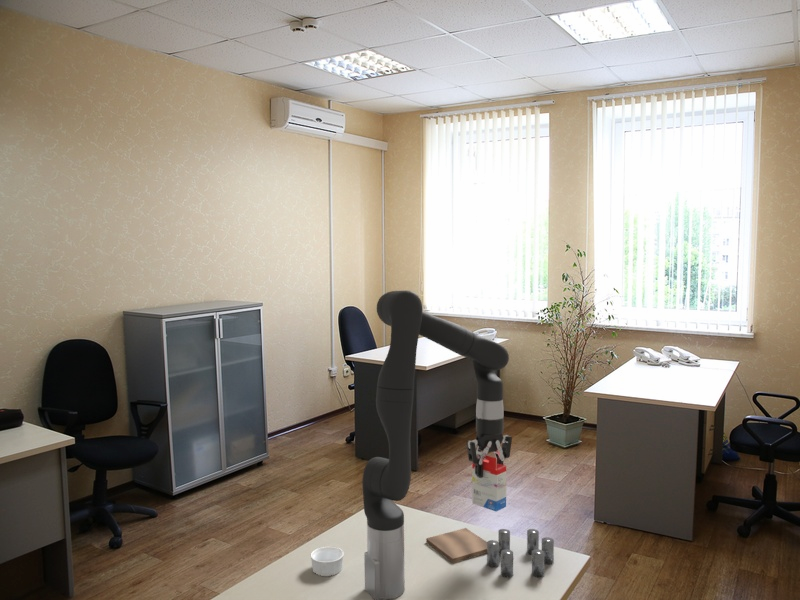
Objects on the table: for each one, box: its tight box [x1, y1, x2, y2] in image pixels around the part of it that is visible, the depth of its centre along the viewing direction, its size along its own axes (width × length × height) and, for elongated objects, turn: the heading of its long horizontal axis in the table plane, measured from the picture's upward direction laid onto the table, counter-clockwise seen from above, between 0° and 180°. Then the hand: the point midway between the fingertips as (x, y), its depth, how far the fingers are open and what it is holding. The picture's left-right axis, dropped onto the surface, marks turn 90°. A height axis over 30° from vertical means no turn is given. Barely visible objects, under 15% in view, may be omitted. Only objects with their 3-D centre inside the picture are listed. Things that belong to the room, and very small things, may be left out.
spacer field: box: [486, 528, 555, 579], centre depth 164 cm, size 17×17×6 cm
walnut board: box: [425, 527, 488, 564], centre depth 174 cm, size 14×14×1 cm
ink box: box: [471, 455, 507, 512], centre depth 168 cm, size 8×5×15 cm, turn 45°
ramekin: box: [310, 546, 345, 577], centre depth 162 cm, size 9×9×4 cm
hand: (489, 475), depth 167 cm, fingers closed on ink box, 6 cm apart
